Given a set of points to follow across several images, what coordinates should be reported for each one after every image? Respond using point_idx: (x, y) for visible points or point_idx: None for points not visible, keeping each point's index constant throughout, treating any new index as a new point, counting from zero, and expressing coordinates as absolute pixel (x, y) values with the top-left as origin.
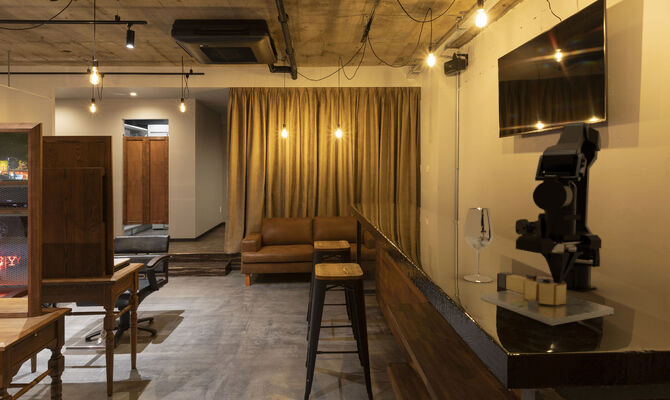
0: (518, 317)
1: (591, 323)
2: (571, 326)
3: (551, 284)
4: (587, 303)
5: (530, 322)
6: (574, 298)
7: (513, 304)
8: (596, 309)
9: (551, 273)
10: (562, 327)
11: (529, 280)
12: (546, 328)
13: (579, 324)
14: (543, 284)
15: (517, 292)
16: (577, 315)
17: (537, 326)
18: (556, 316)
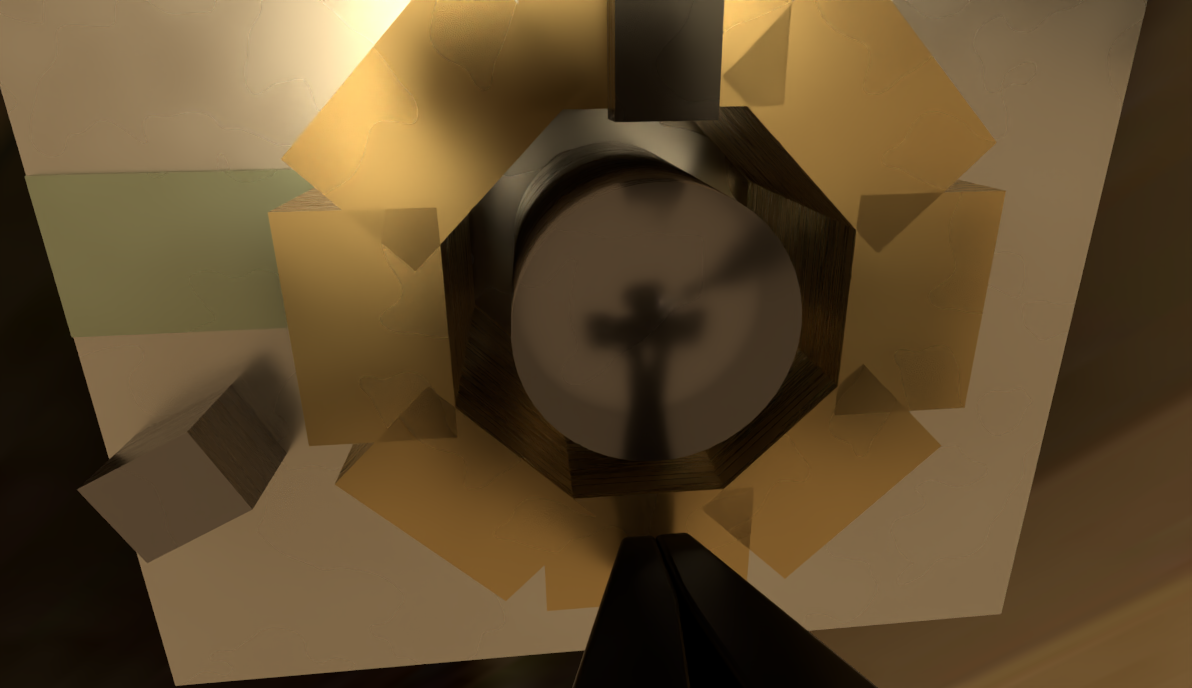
0: (24, 416)
1: (575, 673)
2: (356, 682)
3: (539, 539)
4: (949, 462)
5: (58, 544)
6: (1026, 295)
7: (52, 262)
8: (824, 603)
9: (592, 637)
10: (263, 681)
11: (383, 214)
12: (105, 669)
13: (461, 667)
14: (402, 510)
15: None
16: (520, 649)
17: (56, 624)
18: (278, 649)
